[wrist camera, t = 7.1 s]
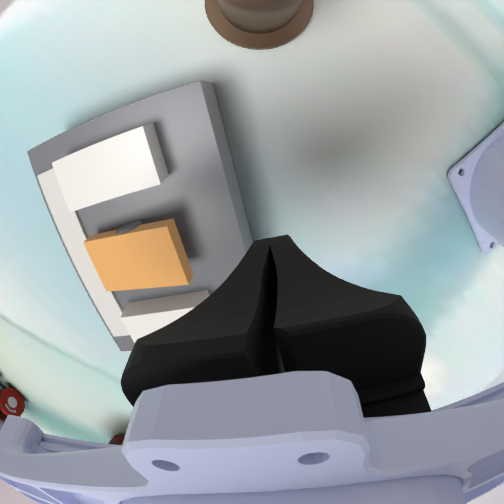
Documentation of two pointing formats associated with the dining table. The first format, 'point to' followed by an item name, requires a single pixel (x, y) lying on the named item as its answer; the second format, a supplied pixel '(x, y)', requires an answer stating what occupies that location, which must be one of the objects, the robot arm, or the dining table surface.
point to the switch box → (148, 198)
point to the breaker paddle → (140, 256)
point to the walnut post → (259, 21)
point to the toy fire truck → (10, 404)
